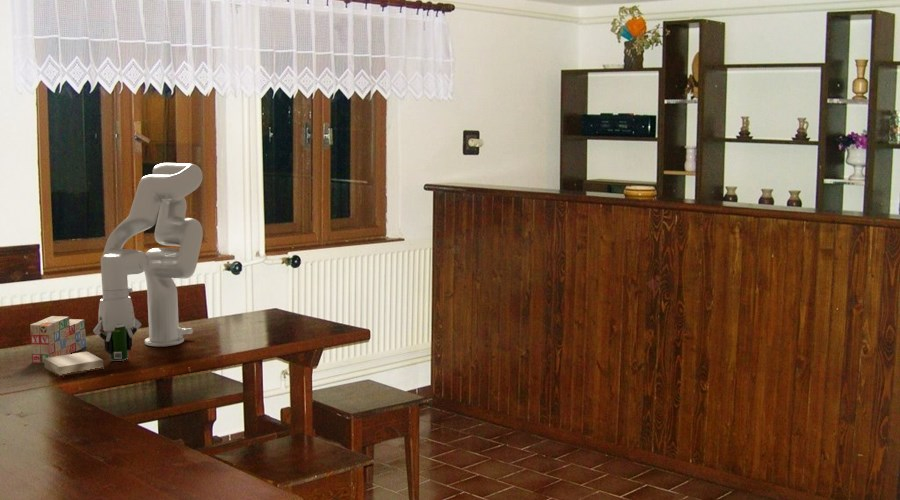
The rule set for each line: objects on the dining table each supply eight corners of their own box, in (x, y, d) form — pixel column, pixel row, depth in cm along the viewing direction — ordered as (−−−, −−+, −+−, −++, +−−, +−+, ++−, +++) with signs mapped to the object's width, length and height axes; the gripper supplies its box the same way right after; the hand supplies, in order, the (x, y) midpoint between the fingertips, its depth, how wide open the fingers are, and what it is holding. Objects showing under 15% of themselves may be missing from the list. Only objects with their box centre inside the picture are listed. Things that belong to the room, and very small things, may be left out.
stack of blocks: (68, 346, 342) (66, 309, 340) (86, 347, 341) (84, 310, 339) (31, 363, 322) (29, 324, 320) (50, 364, 320) (48, 325, 319)
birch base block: (87, 360, 324) (86, 351, 323) (103, 369, 314) (102, 359, 313) (44, 367, 315) (44, 358, 315) (59, 377, 306) (59, 367, 305)
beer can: (128, 361, 323) (126, 323, 321) (110, 363, 321) (108, 325, 319) (127, 357, 328) (125, 319, 326) (109, 358, 326) (107, 321, 324)
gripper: (137, 288, 329) (140, 344, 332) (83, 295, 318) (87, 353, 321) (147, 292, 323) (150, 348, 326) (92, 299, 312) (96, 358, 315)
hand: (118, 350), depth 324 cm, fingers closed on beer can, 5 cm apart
